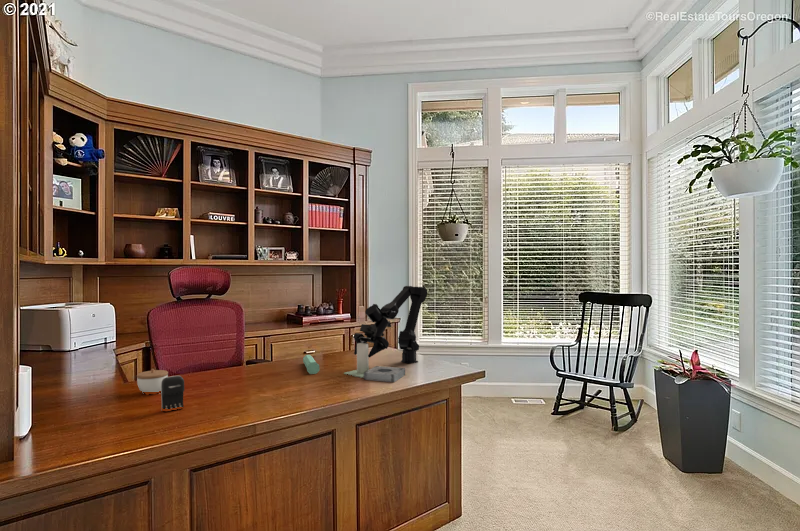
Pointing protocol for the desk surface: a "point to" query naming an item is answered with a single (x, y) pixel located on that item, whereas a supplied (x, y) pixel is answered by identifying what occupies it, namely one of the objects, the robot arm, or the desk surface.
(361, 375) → the felt pad
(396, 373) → the flange
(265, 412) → the desk surface
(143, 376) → the lidded jar
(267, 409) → the desk surface
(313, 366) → the green faceted rod
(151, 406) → the desk surface
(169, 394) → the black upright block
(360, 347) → the end plug
